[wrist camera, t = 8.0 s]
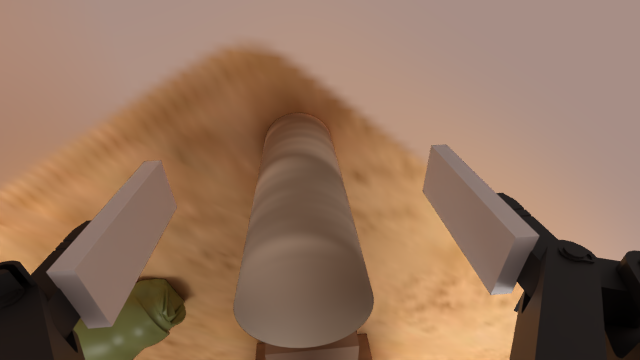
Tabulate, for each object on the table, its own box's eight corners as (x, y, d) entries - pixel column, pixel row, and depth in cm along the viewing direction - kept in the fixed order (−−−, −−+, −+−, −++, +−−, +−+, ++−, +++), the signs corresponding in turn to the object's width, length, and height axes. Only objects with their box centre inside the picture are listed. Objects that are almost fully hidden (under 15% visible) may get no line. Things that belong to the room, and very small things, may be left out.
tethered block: (278, 322, 27) (270, 494, 18) (242, 115, 17) (179, 270, 7) (344, 316, 27) (370, 483, 18) (349, 110, 17) (417, 251, 8)
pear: (-5, 374, 18) (147, 309, 19) (43, 304, 23) (165, 252, 23) (63, 410, 21) (194, 353, 22) (94, 341, 26) (202, 295, 26)
